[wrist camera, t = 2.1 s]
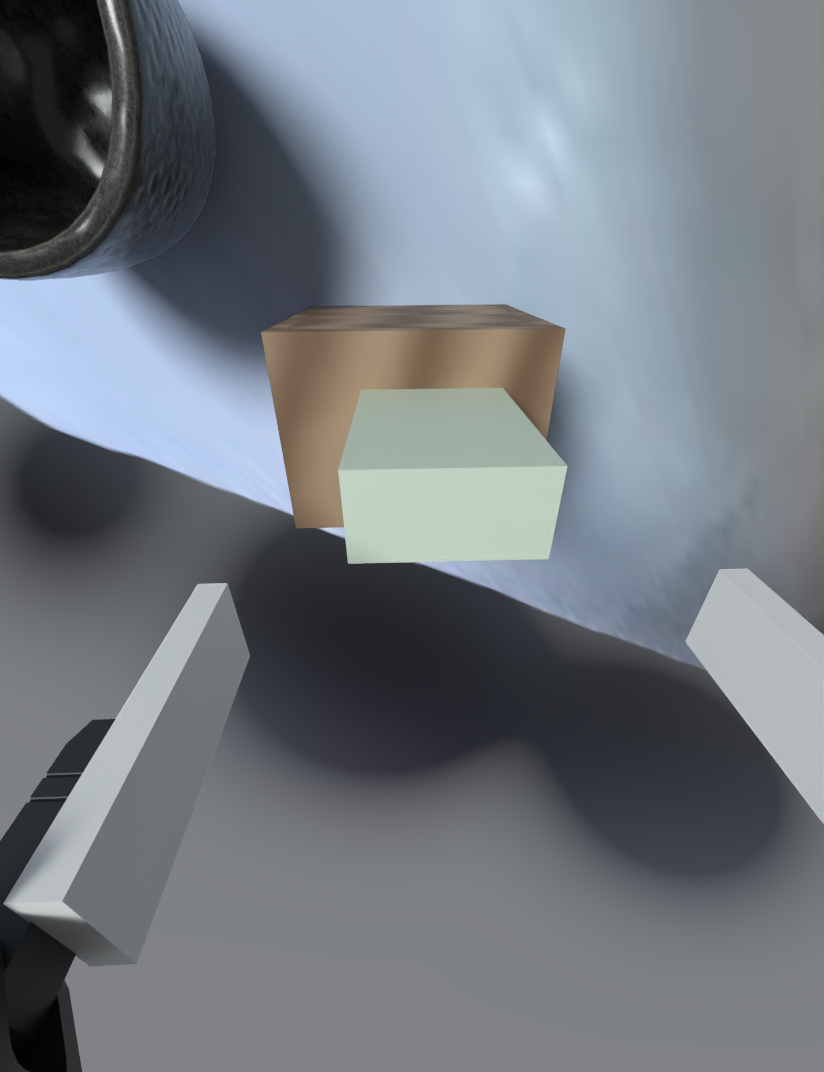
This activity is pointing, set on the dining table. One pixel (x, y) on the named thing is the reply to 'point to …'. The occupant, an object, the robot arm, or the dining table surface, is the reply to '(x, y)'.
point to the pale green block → (447, 478)
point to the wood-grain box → (392, 377)
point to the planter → (99, 135)
